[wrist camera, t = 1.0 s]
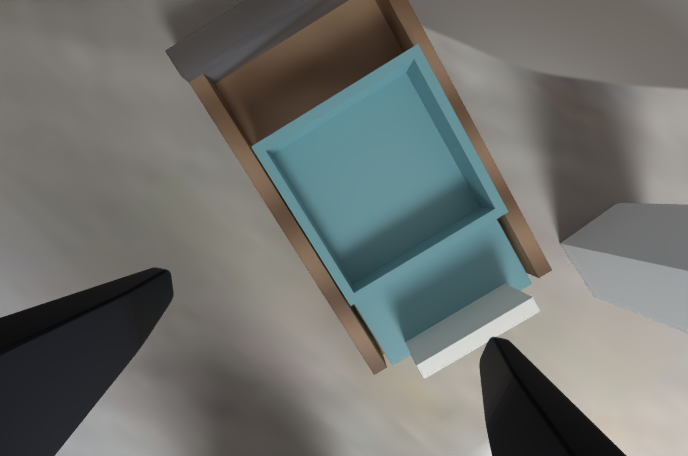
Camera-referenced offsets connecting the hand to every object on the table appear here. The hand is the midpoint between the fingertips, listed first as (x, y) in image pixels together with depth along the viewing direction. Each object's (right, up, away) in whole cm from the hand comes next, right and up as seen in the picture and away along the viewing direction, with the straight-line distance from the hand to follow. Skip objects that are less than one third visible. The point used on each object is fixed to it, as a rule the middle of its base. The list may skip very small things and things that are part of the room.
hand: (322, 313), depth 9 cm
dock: (+2, +6, +13) cm, 15 cm away
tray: (+4, +3, +13) cm, 14 cm away
